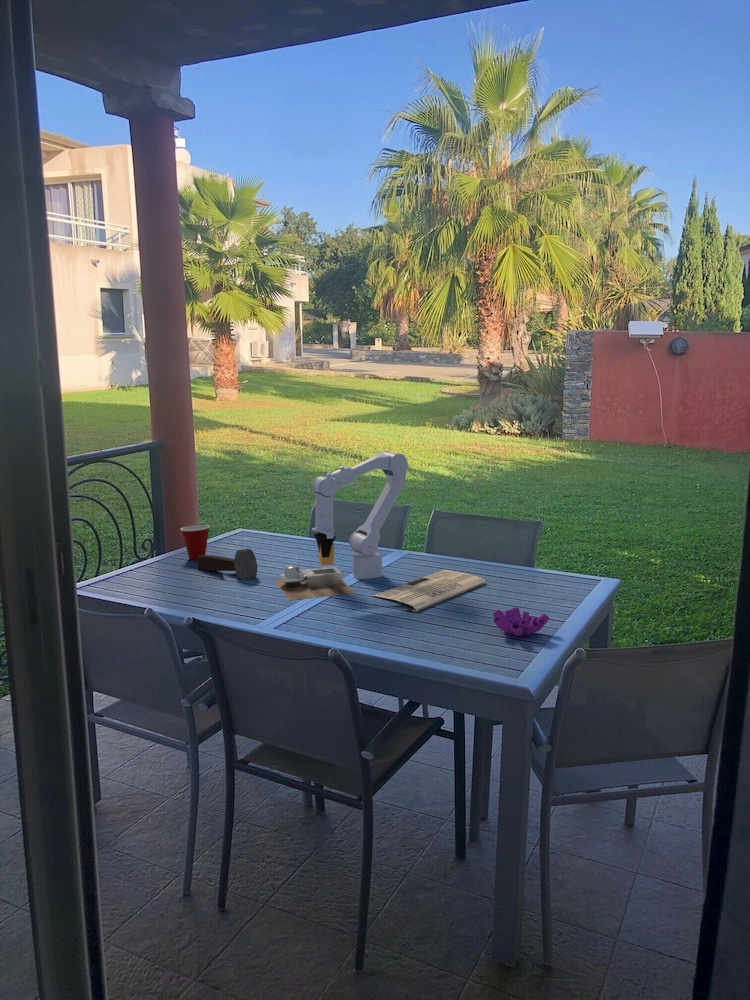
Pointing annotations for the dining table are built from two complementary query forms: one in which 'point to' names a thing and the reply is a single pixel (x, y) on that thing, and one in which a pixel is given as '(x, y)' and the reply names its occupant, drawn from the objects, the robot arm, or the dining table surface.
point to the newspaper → (432, 589)
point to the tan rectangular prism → (329, 559)
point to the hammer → (231, 564)
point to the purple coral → (518, 622)
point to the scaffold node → (311, 576)
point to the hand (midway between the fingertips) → (324, 555)
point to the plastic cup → (195, 540)
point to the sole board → (313, 590)
